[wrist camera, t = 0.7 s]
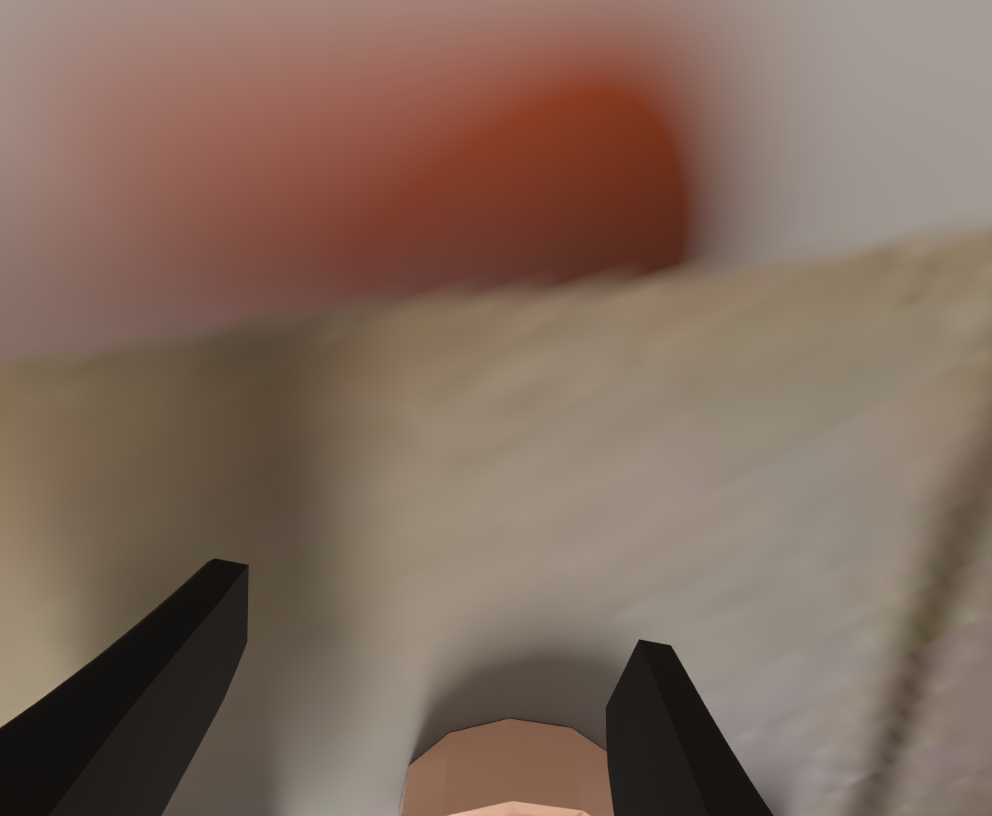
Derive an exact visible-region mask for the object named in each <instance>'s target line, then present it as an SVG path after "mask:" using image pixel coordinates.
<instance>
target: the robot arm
mask: <svg viewBox="0 0 992 816" xmlns="http://www.w3.org/2000/svg"><path fill="white" fill-rule="evenodd" d="M248 568H249V565H246V564H241V563H235V562H230V561H225V560H220V559H212V560H211V561H209V562H207V563H206V564H205V565H204V566H203V567H202V568H201V569H200V570H199V571H197V572H196V573H195V574H194V575H193V576H192V577H191V578H190V579H189V580H188V581H186V582H185V583H184V584H183V585H182V586H181V587H180V588H179V589H177V590H176V591H175V592H174V593H173V594H172V595H171V596H170V597H168V598H167V599H166V600H165V601H164V602H163V603H161V604H160V605H159V606H158V607H157V608H156V609H155V610H153V611H152V612H151V613H150V614H149V615H148V616H146V617H145V618H144V619H143V620H142V621H140V622H139V623H138V624H137V625H136V626H134V627H133V628H132V629H131V630H129V631H128V632H127V633H126V634H125V635H123V636H122V637H121V638H120V639H118V640H117V641H116V642H115V643H114V644H112V645H111V646H110V647H109V648H107V649H106V650H105V651H104V652H103V653H101V654H100V655H99V656H97V657H96V658H95V659H94V660H92V661H91V662H90V663H88V664H87V665H86V666H84V667H83V668H82V669H80V670H79V671H78V672H76V673H75V674H74V675H72V676H71V677H70V678H69V679H67V680H66V681H65V682H63V683H62V684H61V685H59V686H58V687H57V688H55V689H54V690H53V691H51V692H50V693H49V694H47V695H46V696H45V697H43V698H42V699H41V700H39V701H38V702H36V703H35V704H34V705H32V706H31V707H29V708H28V709H27V710H25V711H24V712H22V713H21V714H19V715H18V716H17V717H15V718H14V719H12V720H11V721H9V722H8V723H7V724H5V725H4V726H2V727H1V728H0V816H161V815H162V813H163V811H164V810H165V808H166V806H167V804H168V802H169V800H170V798H171V797H172V795H173V793H174V791H175V789H176V787H177V786H178V784H179V782H180V780H181V778H182V776H183V774H184V773H185V771H186V769H187V767H188V765H189V763H190V761H191V760H192V758H193V756H194V754H195V752H196V750H197V749H198V747H199V745H200V743H201V741H202V739H203V737H204V735H205V734H206V732H207V730H208V728H209V726H210V724H211V722H212V721H213V719H214V717H215V715H216V713H217V711H218V709H219V707H220V705H221V703H222V702H223V700H224V697H225V695H226V693H227V690H228V688H229V686H230V683H231V681H232V678H233V676H234V674H235V671H236V669H237V666H238V664H239V661H240V659H241V656H242V654H243V651H244V649H245V646H246V644H247V621H248ZM606 738H607V764H608V774H609V782H610V789H611V797H612V804H613V811H614V816H773V814H772V813H771V811H770V810H769V808H768V807H767V805H766V804H765V802H764V801H763V799H762V798H761V796H760V795H759V793H758V792H757V790H756V788H755V787H754V785H753V784H752V782H751V781H750V779H749V778H748V776H747V774H746V773H745V771H744V769H743V768H742V766H741V765H740V763H739V761H738V760H737V758H736V756H735V755H734V753H733V751H732V750H731V748H730V747H729V745H728V743H727V742H726V740H725V738H724V737H723V735H722V733H721V732H720V730H719V728H718V727H717V725H716V723H715V721H714V720H713V718H712V716H711V715H710V713H709V711H708V709H707V708H706V706H705V704H704V702H703V701H702V699H701V697H700V695H699V694H698V692H697V690H696V688H695V687H694V685H693V683H692V681H691V680H690V678H689V676H688V674H687V672H686V671H685V669H684V667H683V665H682V664H681V662H680V660H679V658H678V657H677V655H676V653H675V651H674V650H673V648H672V647H671V645H666V644H661V643H655V642H650V641H645V640H640V639H639V641H638V643H637V645H636V647H635V649H634V651H633V653H632V655H631V657H630V659H629V661H628V663H627V665H626V667H625V669H624V672H623V674H622V676H621V678H620V680H619V682H618V684H617V686H616V688H615V690H614V692H613V694H612V696H611V698H610V700H609V702H608V705H607V707H606Z"/></svg>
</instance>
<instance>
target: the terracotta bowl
mask: <svg viewBox="0 0 992 816" xmlns="http://www.w3.org/2000/svg"><path fill="white" fill-rule="evenodd" d="M398 816H614V811H613V804H612V797H611V789H610V782H609V774H608V764H607V752H606V751H605V750H603V749H602V748H600V747H599V746H597V745H596V744H595V743H593V742H592V741H590V740H589V739H587V738H586V737H584V736H583V735H581V734H580V733H578V732H577V731H575V730H574V729H572V728H569V727H562V726H555V725H549V724H542V723H535V722H529V721H522V720H515V719H506V720H502V721H497V722H493V723H489V724H485V725H481V726H476V727H472V728H468V729H464V730H460V731H456V732H451V733H448V734H447V735H446V736H445V737H443V738H442V739H441V740H440V741H439V742H437V743H436V744H435V745H434V746H433V747H431V748H430V749H429V750H428V751H426V752H425V753H424V754H423V755H422V756H420V757H419V758H418V759H417V760H415V761H414V762H413V763H412V764H411V765H409V767H408V771H407V776H406V780H405V784H404V789H403V793H402V797H401V801H400V806H399V812H398Z"/></svg>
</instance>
